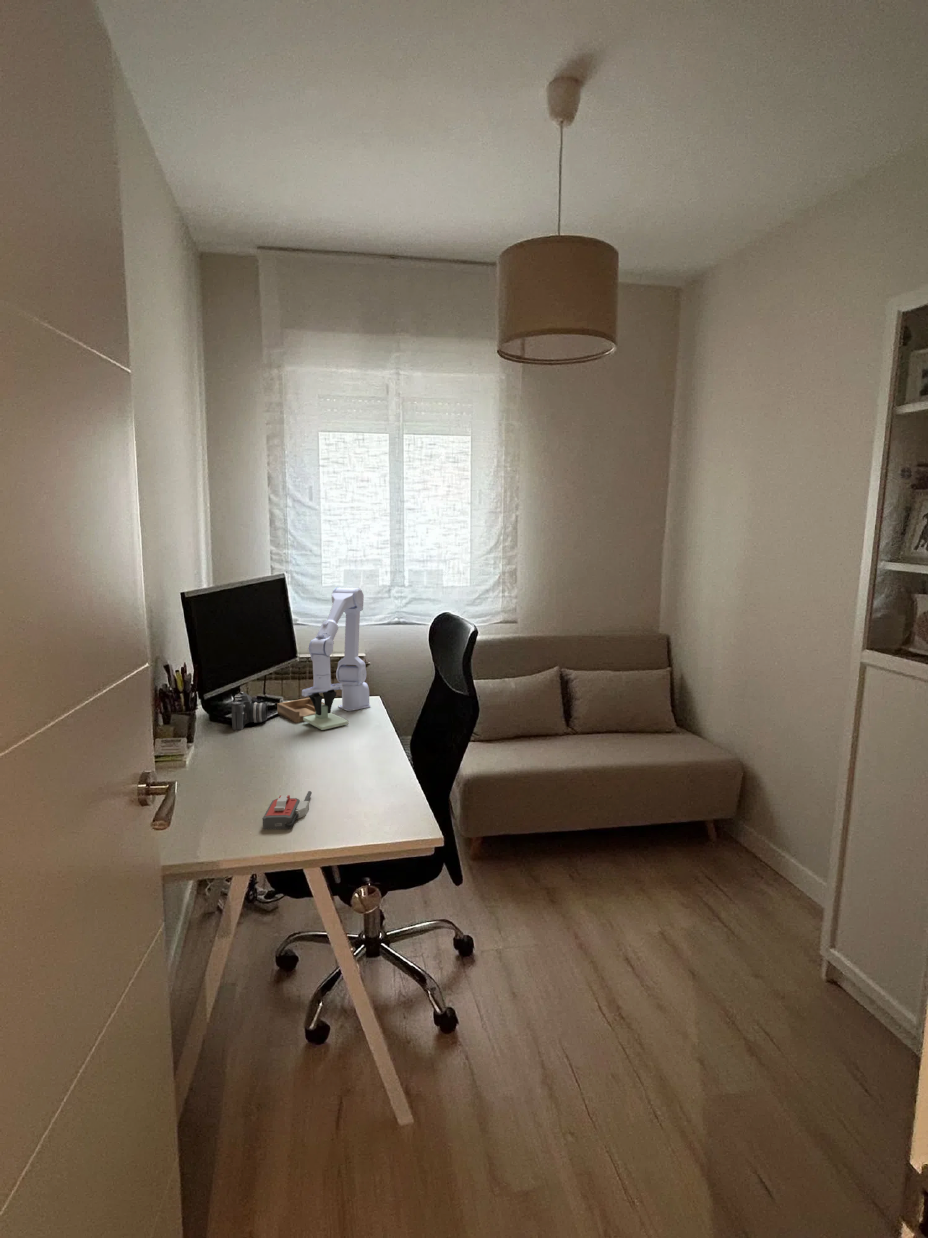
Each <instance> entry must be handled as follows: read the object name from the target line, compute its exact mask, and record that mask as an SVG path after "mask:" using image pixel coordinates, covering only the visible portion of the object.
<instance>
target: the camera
mask: <svg viewBox="0 0 928 1238" xmlns="http://www.w3.org/2000/svg"><path fill="white" fill-rule="evenodd" d="M230 702H231V703H230V706H231V724H232V725H231V726H232V730H233V731H242V730H244V727H245V725H246V724H249V723H251V722H254V723H253V724H257V723H263V722H265V721H267V720H268V705H267V704H265V702H256V701H255V702H253V697H252V696H250V695H249V694H247V692H245V691H241V692H239V693H237V694H235V695H234V697H233V701H230Z"/></svg>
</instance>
